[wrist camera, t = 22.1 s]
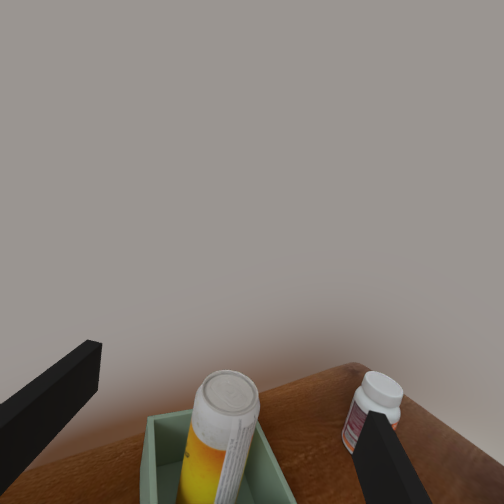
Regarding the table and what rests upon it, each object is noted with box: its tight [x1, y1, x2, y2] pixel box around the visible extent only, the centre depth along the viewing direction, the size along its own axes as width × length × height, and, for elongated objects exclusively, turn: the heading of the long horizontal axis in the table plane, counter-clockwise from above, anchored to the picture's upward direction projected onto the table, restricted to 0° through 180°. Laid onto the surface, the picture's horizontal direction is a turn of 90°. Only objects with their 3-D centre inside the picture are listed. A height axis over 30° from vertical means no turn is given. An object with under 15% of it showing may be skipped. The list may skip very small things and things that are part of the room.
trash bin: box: [140, 409, 297, 504], centre depth 26 cm, size 12×12×8 cm
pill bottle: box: [342, 371, 403, 454], centre depth 37 cm, size 6×6×11 cm
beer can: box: [175, 370, 260, 504], centre depth 25 cm, size 6×6×15 cm
